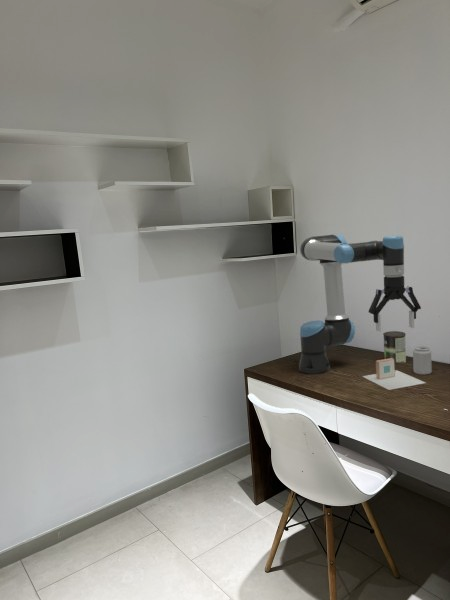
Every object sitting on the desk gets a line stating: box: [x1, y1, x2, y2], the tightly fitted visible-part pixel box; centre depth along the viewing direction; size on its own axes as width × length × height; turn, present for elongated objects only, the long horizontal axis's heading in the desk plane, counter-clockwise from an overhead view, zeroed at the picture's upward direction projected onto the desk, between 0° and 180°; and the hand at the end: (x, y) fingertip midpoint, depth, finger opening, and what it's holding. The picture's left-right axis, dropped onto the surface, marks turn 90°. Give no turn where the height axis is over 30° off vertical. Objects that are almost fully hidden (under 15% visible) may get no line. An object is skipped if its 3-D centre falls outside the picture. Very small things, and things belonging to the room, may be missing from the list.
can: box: [412, 345, 433, 375], centre depth 207 cm, size 8×8×12 cm
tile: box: [375, 358, 396, 379], centre depth 204 cm, size 2×8×8 cm, turn 105°
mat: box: [362, 369, 426, 391], centre depth 201 cm, size 20×18×1 cm
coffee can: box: [383, 330, 407, 364], centre depth 227 cm, size 10×10×14 cm
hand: (395, 329), depth 182 cm, fingers open, 13 cm apart
